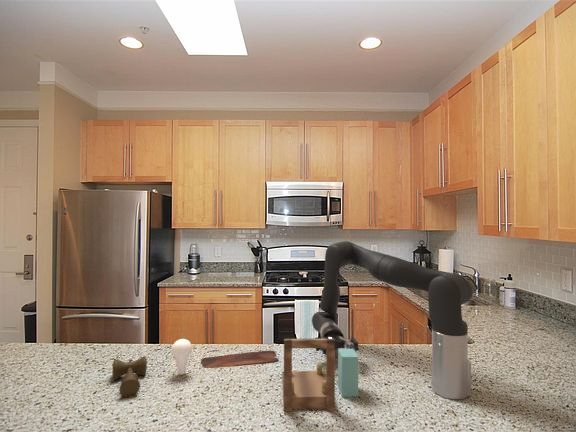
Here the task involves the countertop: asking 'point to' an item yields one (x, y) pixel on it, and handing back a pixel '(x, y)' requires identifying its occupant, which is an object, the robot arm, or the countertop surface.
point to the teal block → (348, 372)
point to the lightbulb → (181, 354)
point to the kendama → (129, 375)
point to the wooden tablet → (239, 359)
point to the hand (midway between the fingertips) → (340, 352)
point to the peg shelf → (309, 378)
